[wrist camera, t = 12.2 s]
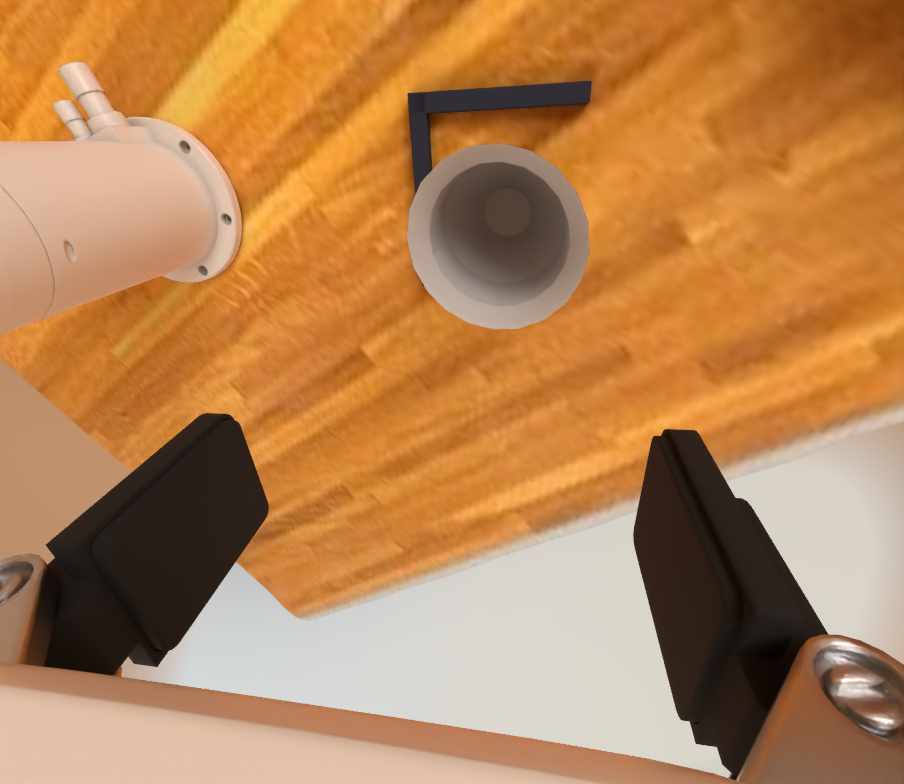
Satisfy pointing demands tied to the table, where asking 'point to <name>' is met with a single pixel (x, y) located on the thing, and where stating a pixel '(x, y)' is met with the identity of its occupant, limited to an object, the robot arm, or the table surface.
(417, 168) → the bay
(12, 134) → the table surface
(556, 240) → the chalice
